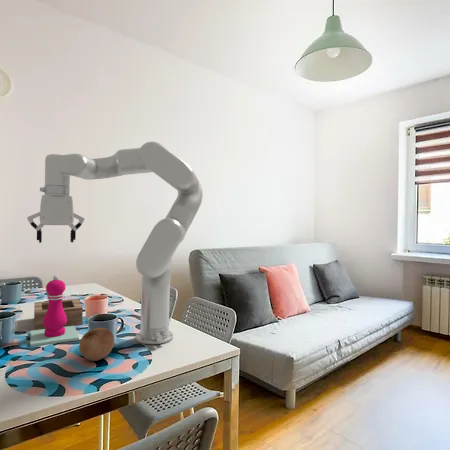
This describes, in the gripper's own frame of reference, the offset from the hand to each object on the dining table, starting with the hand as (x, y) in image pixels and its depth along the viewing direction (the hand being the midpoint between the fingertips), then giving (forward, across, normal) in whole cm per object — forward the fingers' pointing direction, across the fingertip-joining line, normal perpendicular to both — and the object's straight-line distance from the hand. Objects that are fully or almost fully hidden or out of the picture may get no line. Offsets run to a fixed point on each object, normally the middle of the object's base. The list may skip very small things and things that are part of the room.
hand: (56, 242), depth 114 cm
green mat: (+32, 0, 0) cm, 32 cm away
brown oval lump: (+32, +10, -25) cm, 42 cm away
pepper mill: (+31, 0, 0) cm, 31 cm away
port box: (+32, +2, +18) cm, 37 cm away
